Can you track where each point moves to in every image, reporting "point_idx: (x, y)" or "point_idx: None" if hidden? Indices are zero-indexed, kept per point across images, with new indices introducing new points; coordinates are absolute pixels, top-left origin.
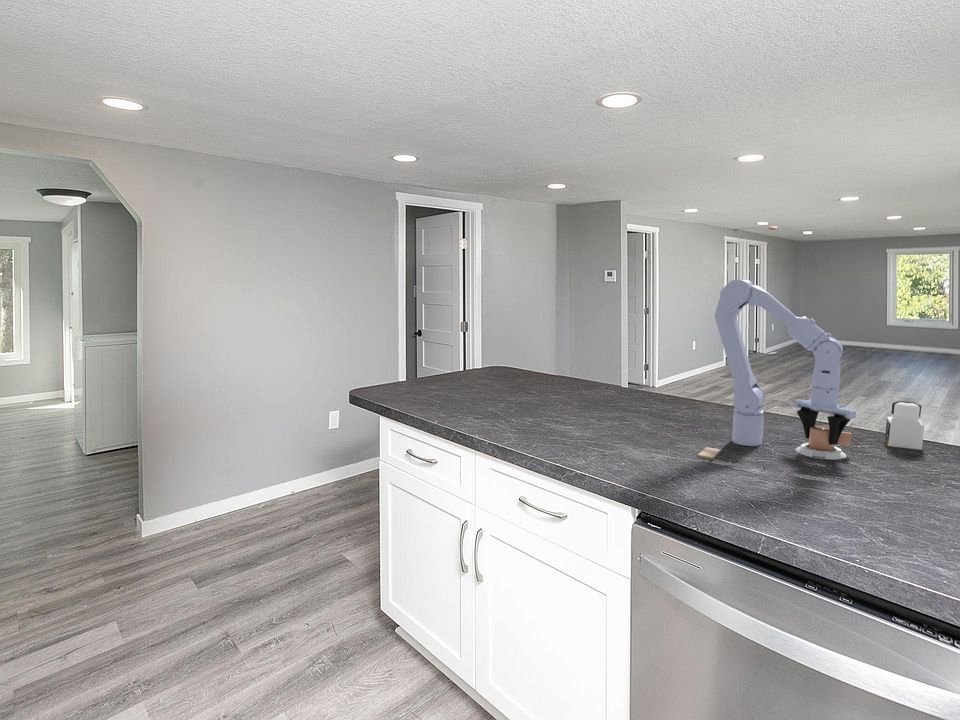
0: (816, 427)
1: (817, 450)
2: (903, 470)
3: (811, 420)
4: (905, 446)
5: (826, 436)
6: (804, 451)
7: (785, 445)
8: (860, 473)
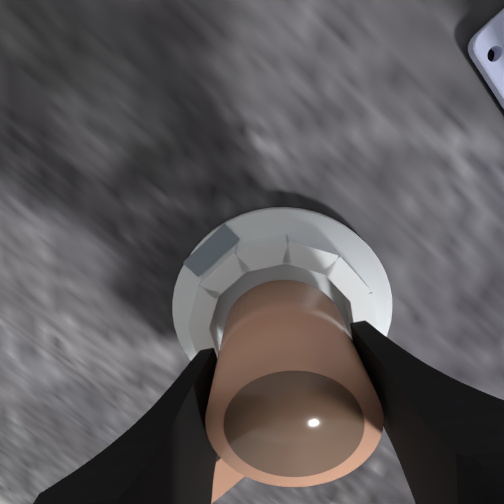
0: (329, 408)
1: None
2: (65, 438)
3: (409, 453)
4: None
5: (216, 367)
6: (289, 236)
7: (472, 275)
8: (29, 282)
